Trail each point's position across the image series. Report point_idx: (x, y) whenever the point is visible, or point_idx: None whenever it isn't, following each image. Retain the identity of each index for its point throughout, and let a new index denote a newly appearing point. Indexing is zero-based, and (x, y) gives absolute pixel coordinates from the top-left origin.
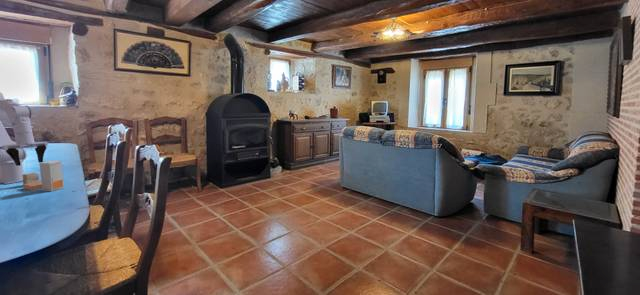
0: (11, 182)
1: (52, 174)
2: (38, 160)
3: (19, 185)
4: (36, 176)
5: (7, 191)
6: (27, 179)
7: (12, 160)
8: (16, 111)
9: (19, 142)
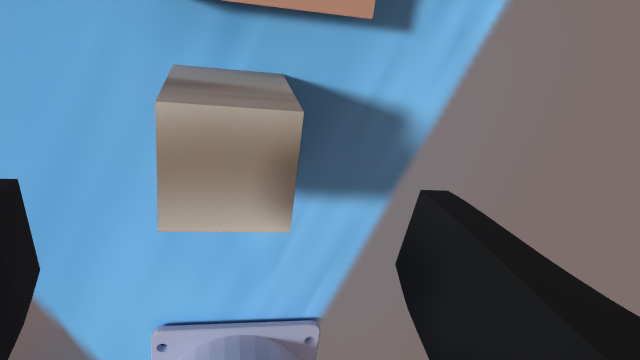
0: (282, 324)
1: None
2: (20, 312)
3: None
4: (188, 91)
5: (467, 42)
6: (291, 95)
7: None
8: None
9: None
